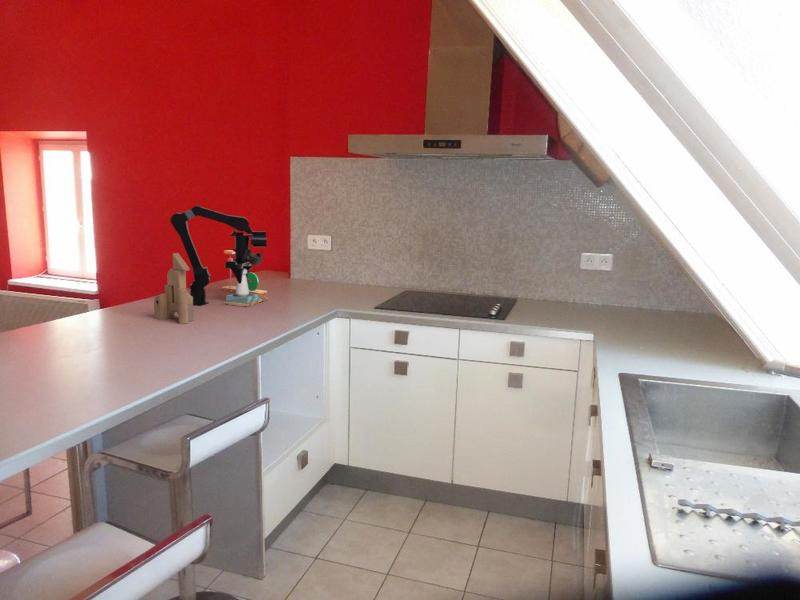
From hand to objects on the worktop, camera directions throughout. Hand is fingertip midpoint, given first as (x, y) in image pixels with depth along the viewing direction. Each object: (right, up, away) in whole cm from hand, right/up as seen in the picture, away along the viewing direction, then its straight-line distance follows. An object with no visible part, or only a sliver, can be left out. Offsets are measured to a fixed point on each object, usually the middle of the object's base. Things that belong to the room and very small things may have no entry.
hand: (242, 282), depth 251 cm
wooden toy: (-16, -15, -34) cm, 40 cm away
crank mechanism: (-7, -4, +30) cm, 31 cm away
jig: (0, -8, +5) cm, 10 cm away
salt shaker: (0, -7, +1) cm, 7 cm away
